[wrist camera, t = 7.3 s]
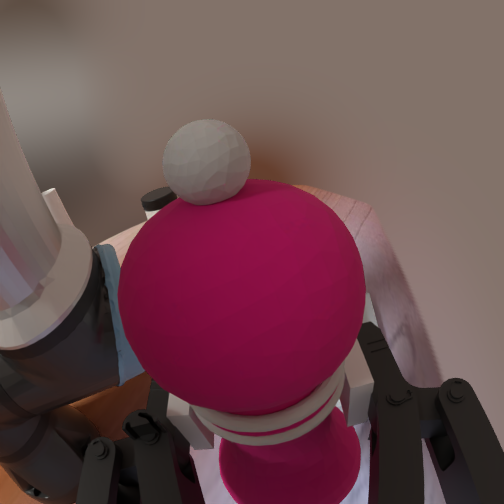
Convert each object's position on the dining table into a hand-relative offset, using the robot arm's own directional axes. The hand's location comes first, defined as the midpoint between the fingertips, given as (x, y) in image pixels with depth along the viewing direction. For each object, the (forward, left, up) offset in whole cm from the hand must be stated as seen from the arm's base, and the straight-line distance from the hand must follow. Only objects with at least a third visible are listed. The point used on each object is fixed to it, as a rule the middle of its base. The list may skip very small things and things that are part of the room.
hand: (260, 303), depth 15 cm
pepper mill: (+3, -4, -11) cm, 12 cm away
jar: (-52, +29, -22) cm, 63 cm away
